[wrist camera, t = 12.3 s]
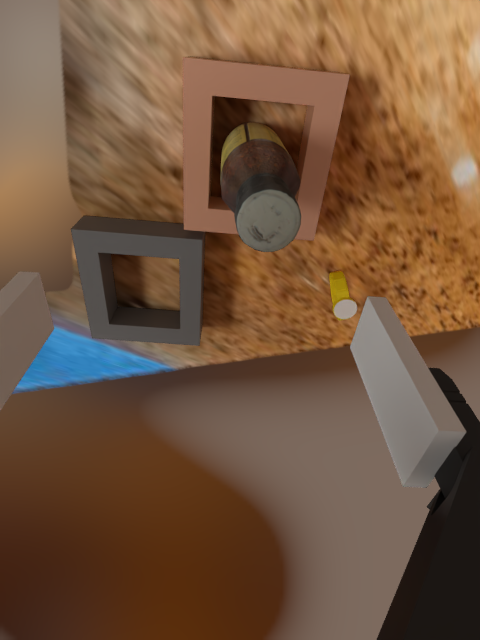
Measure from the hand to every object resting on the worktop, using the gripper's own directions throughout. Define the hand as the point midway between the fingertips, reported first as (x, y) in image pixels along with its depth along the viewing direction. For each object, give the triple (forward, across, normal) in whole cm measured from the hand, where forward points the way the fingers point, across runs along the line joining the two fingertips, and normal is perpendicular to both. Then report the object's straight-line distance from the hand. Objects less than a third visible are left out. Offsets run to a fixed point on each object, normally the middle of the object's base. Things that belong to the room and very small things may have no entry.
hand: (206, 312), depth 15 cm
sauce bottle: (+29, +3, 0) cm, 29 cm away
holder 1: (+29, -9, -16) cm, 34 cm away
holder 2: (+29, +3, 0) cm, 29 cm away
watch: (+29, +15, -14) cm, 36 cm away
